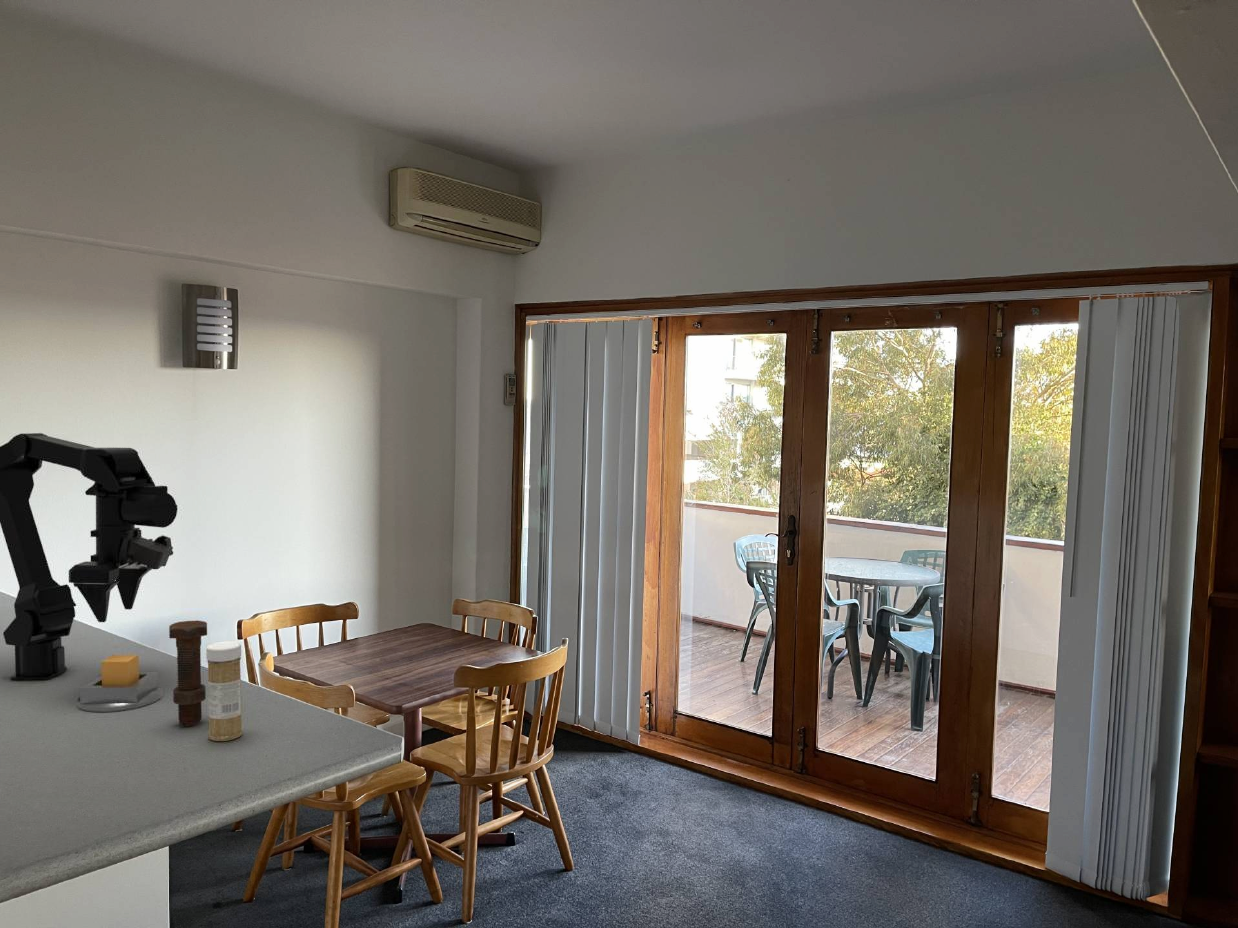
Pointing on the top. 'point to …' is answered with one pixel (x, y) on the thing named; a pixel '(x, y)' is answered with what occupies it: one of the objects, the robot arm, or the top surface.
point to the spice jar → (224, 690)
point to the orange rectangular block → (120, 670)
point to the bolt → (189, 670)
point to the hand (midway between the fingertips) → (115, 615)
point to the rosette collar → (120, 694)
